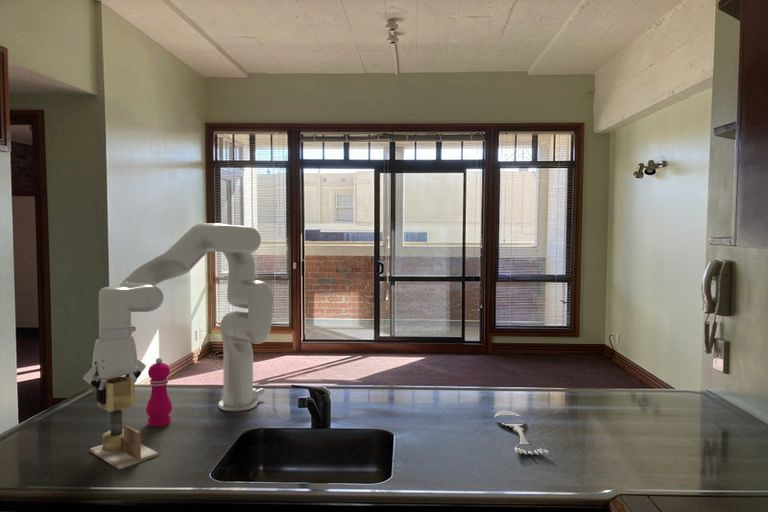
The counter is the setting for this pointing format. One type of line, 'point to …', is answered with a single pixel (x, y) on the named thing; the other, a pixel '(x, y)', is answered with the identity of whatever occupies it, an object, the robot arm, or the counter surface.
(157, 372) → the pepper mill
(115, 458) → the hinge base
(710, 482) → the counter surface
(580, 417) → the counter surface
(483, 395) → the counter surface
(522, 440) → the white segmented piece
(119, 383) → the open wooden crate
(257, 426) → the counter surface
